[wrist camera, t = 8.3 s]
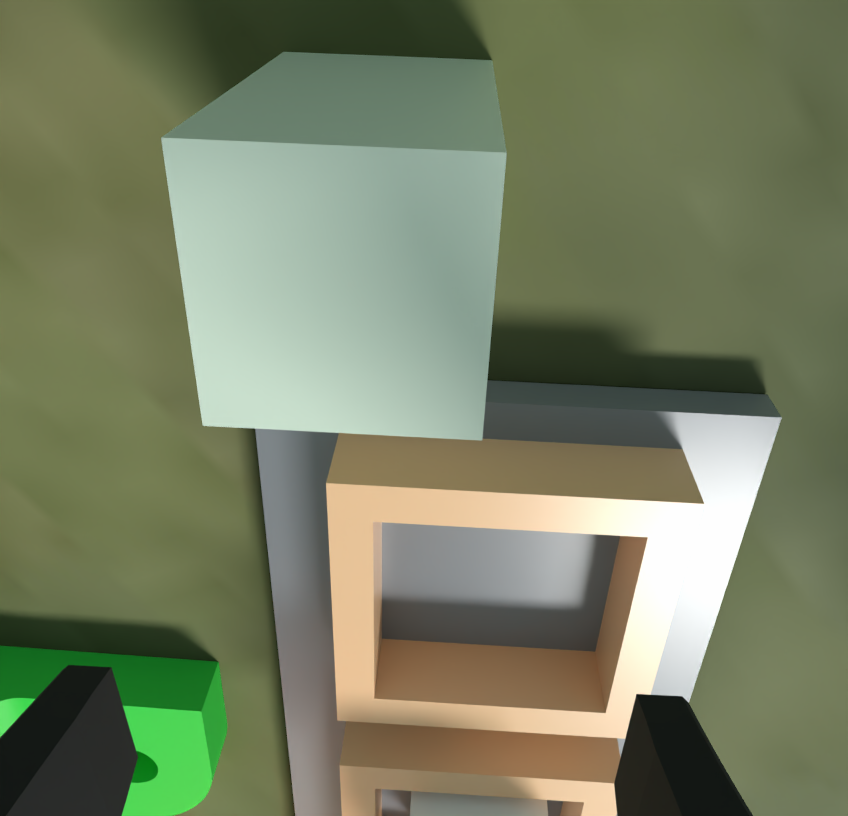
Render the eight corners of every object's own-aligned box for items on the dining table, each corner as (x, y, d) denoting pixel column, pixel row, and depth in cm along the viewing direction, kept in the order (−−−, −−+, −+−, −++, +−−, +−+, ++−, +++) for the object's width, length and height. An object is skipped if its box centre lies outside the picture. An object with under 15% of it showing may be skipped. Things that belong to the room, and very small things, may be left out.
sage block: (492, 60, 15) (506, 152, 9) (478, 258, 17) (481, 441, 11) (283, 52, 15) (160, 137, 9) (295, 250, 17) (202, 425, 11)
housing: (767, 394, 18) (814, 470, 16) (625, 854, 29) (640, 944, 26) (261, 368, 19) (227, 439, 16) (304, 832, 29) (289, 919, 27)
